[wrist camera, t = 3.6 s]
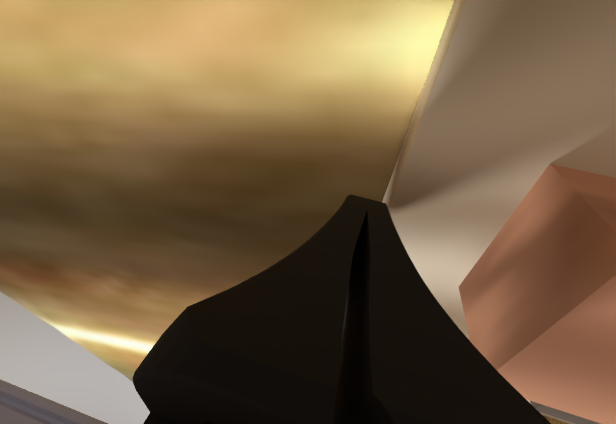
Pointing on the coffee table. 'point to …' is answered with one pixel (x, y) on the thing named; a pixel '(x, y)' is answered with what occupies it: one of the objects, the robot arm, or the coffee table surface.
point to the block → (552, 295)
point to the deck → (501, 130)
